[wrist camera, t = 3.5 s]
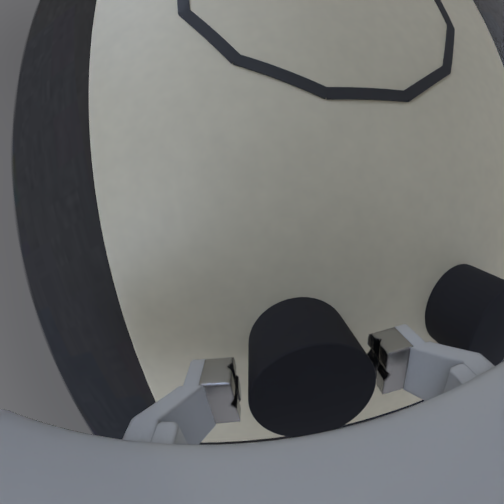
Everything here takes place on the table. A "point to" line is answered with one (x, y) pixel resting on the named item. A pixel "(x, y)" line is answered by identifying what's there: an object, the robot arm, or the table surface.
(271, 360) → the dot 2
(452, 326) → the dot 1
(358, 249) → the sheet
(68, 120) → the table surface
